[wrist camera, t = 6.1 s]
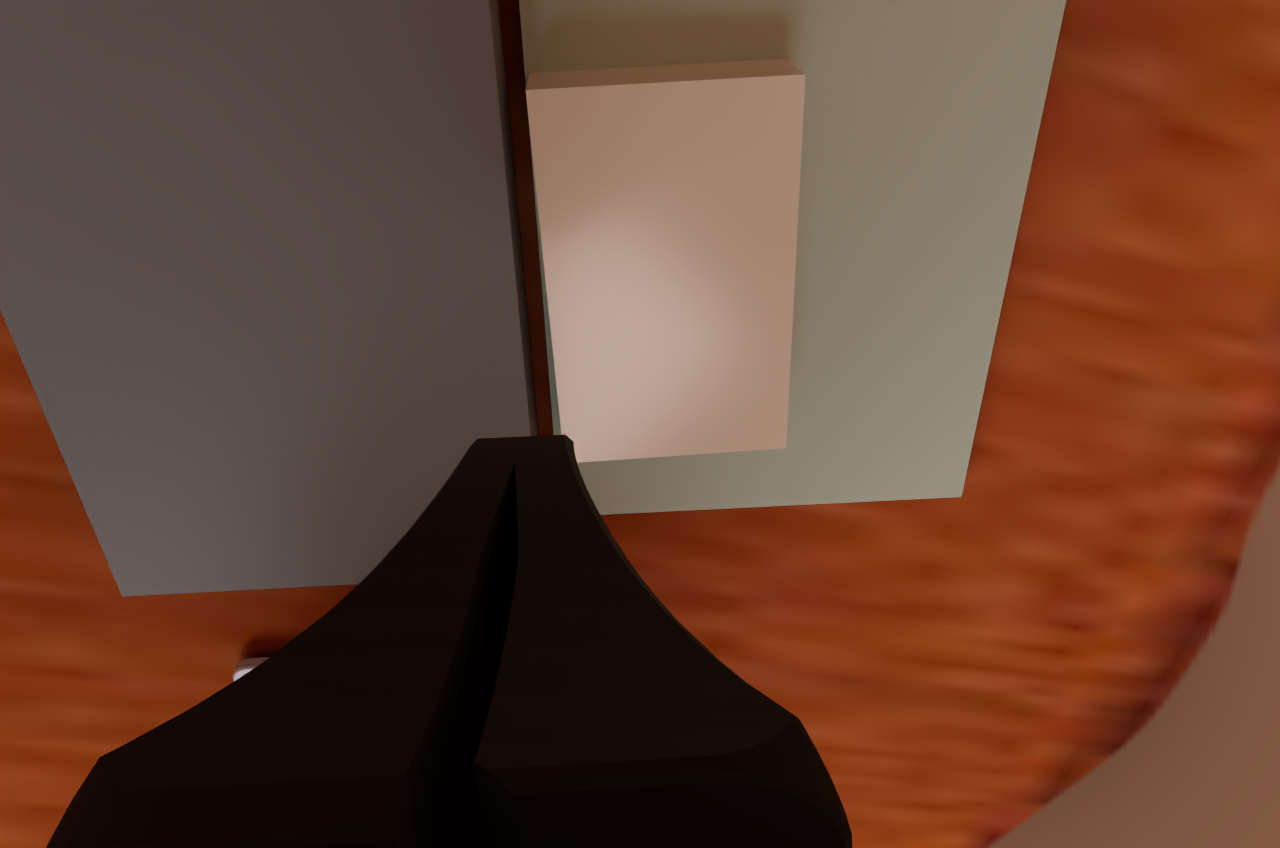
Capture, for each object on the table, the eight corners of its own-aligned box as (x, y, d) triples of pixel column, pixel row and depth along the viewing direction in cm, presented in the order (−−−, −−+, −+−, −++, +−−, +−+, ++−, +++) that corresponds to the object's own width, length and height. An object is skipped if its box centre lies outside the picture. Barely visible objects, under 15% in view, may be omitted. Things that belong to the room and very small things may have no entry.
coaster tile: (772, 412, 22) (785, 448, 20) (565, 425, 21) (564, 463, 20) (788, 58, 17) (805, 74, 16) (529, 73, 17) (525, 89, 16)
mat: (955, 487, 24) (961, 496, 23) (560, 507, 23) (560, 516, 23) (1072, -77, 17) (1082, -76, 16) (515, -64, 16) (513, -63, 16)
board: (546, 523, 23) (543, 574, 22) (155, 542, 23) (122, 596, 21) (490, -95, 16) (480, -92, 14) (-84, -83, 16) (-165, -78, 14)
